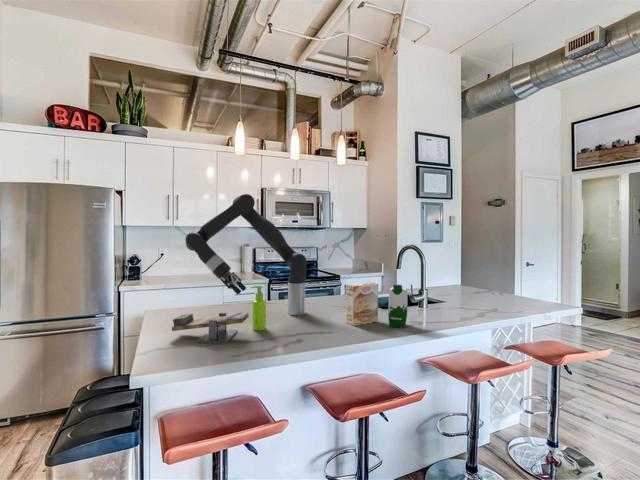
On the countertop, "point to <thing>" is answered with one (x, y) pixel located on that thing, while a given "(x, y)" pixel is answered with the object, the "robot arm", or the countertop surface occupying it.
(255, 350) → the countertop surface
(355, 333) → the countertop surface
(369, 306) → the coffeecake box
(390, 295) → the milk carton
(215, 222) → the robot arm
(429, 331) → the countertop surface
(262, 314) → the soap dispenser
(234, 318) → the seesaw board
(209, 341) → the seesaw stand
